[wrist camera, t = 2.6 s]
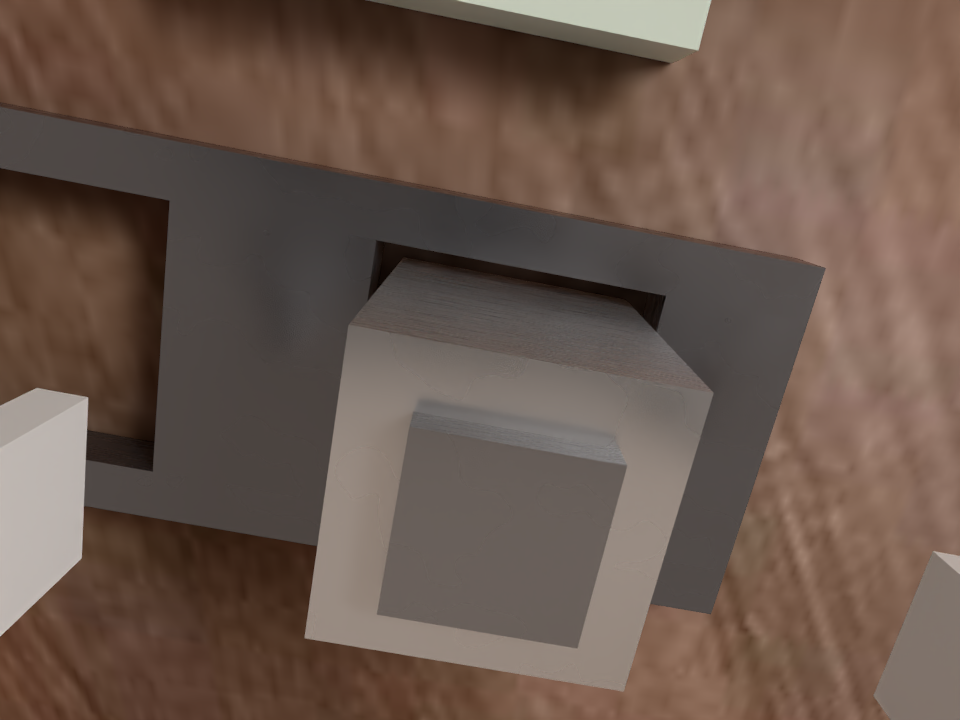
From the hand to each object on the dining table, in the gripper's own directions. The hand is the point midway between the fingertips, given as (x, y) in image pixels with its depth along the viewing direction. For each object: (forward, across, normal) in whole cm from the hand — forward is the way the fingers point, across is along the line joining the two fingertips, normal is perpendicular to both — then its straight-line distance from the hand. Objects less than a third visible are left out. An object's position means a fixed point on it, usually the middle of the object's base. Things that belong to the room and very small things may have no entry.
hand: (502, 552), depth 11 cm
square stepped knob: (+7, 0, 0) cm, 7 cm away
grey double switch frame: (+7, -6, 0) cm, 9 cm away
